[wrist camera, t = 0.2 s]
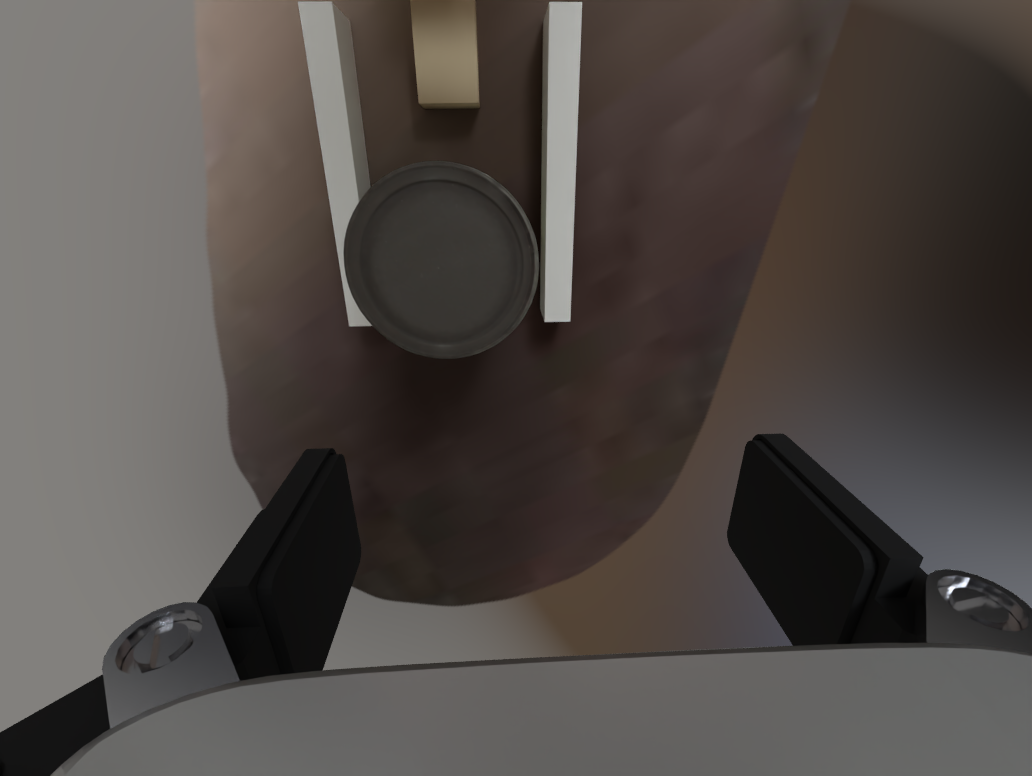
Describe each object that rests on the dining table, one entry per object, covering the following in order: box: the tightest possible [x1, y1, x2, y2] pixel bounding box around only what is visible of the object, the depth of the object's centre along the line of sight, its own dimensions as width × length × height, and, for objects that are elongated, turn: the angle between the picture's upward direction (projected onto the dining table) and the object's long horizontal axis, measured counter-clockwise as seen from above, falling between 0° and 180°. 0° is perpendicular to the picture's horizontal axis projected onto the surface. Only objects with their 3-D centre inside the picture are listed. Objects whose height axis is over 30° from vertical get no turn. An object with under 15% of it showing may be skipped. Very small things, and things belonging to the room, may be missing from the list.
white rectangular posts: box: [298, 1, 582, 326], centre depth 35 cm, size 20×17×4 cm
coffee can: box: [343, 161, 539, 359], centre depth 32 cm, size 10×10×14 cm
